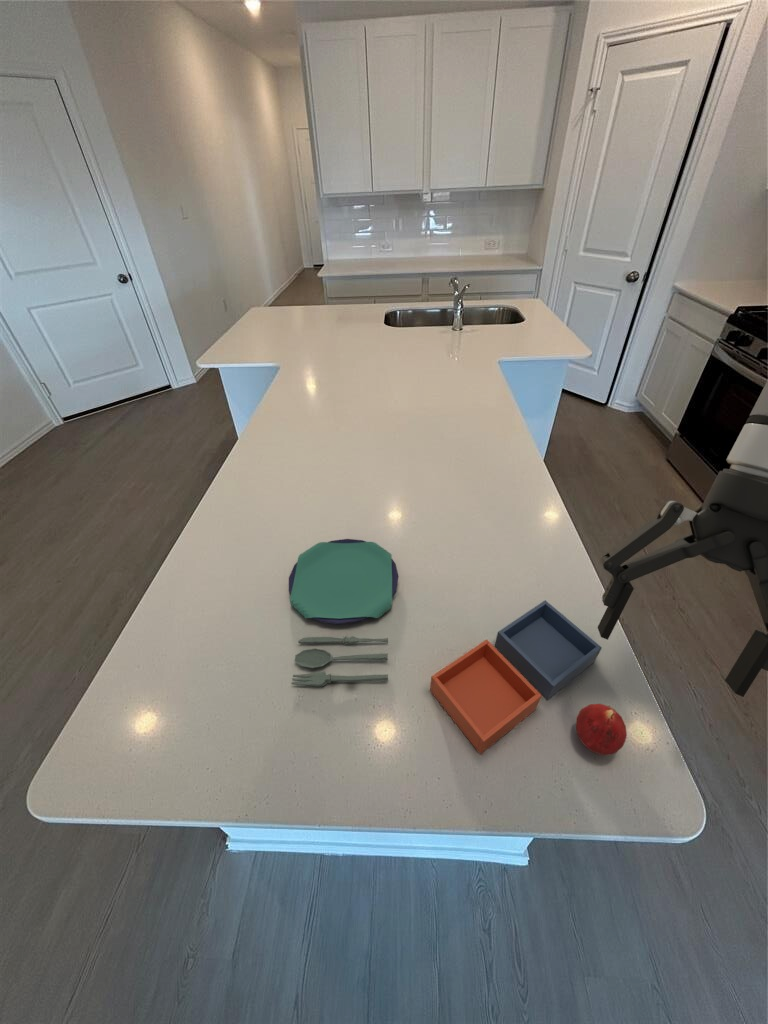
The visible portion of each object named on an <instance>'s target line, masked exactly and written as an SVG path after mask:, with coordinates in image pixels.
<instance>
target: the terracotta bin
mask: <svg viewBox="0 0 768 1024" xmlns="http://www.w3.org/2000/svg"><path fill="white" fill-rule="evenodd" d="M429 687H430V689H429V691H430V692H431V694H432V695H433V696H434V697H435V698H436V700H437V701H438V702H439V703H440V704H441V706H442V708H443V709H444V710H445V711H446V713H447V714H448V715H449V717H450V718H451V719H452V721H453V722H454V723H455V724H456V726H458V728H459V729H460V730H461V732H462V733H463V735H464V736H465V737H466V738H467V739H468V741H469V742H470V743H471V745H472V746H473V747H474V748H475V750H476V751H477V752H478V753H479V755H482V753H484V752H485V751H486V750H488V749H489V748H490V747H492V746H493V745H494V744H495V743H497V741H499V740H500V739H501V738H502V737H504V736H505V735H506V734H508V733H509V732H510V731H511V730H512V729H514V728H515V727H516V726H517V725H518V724H520V723H521V722H522V721H523V720H524V719H526V718H527V717H528V716H530V715H531V714H533V712H534V711H536V710H537V708H538V705H539V703H540V701H541V699H542V697H543V695H542V694H541V693H540V692H539V691H538V690H537V689H536V688H535V687H534V686H533V685H532V684H531V683H530V682H529V681H528V680H527V679H526V678H525V677H524V676H523V675H522V674H521V673H520V672H519V671H518V670H517V669H516V668H515V667H514V666H513V665H512V664H511V663H510V662H509V661H508V660H507V659H506V658H505V657H504V655H503V654H502V653H501V652H500V651H499V650H498V649H497V648H496V647H495V645H493V644H492V643H491V642H490V641H489V640H488V639H485V640H483V641H482V642H480V643H479V644H478V645H475V646H474V647H473V648H471V649H470V650H468V651H467V652H466V653H464V654H462V655H461V656H459V657H458V658H456V659H455V660H453V661H452V662H450V663H449V664H448V665H446V666H445V667H443V668H442V669H440V670H439V671H437V672H436V673H434V674H433V675H432V676H431V678H430V686H429Z"/></svg>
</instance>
